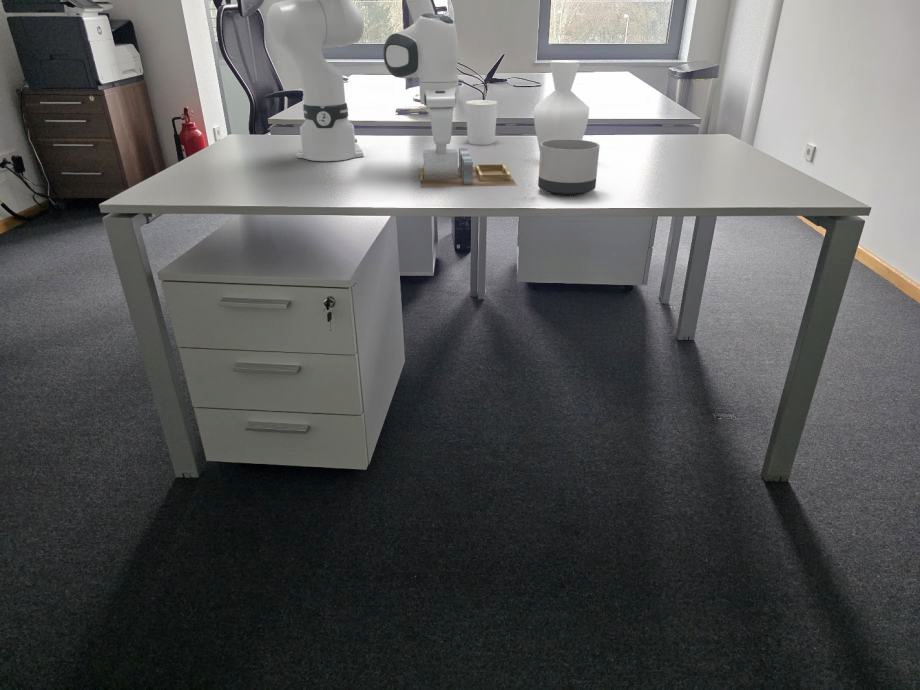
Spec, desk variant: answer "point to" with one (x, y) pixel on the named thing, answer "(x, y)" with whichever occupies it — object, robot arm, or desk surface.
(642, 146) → the desk surface
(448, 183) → the board
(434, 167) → the bar
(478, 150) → the desk surface
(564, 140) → the planter
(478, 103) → the candle holder
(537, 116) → the vase
